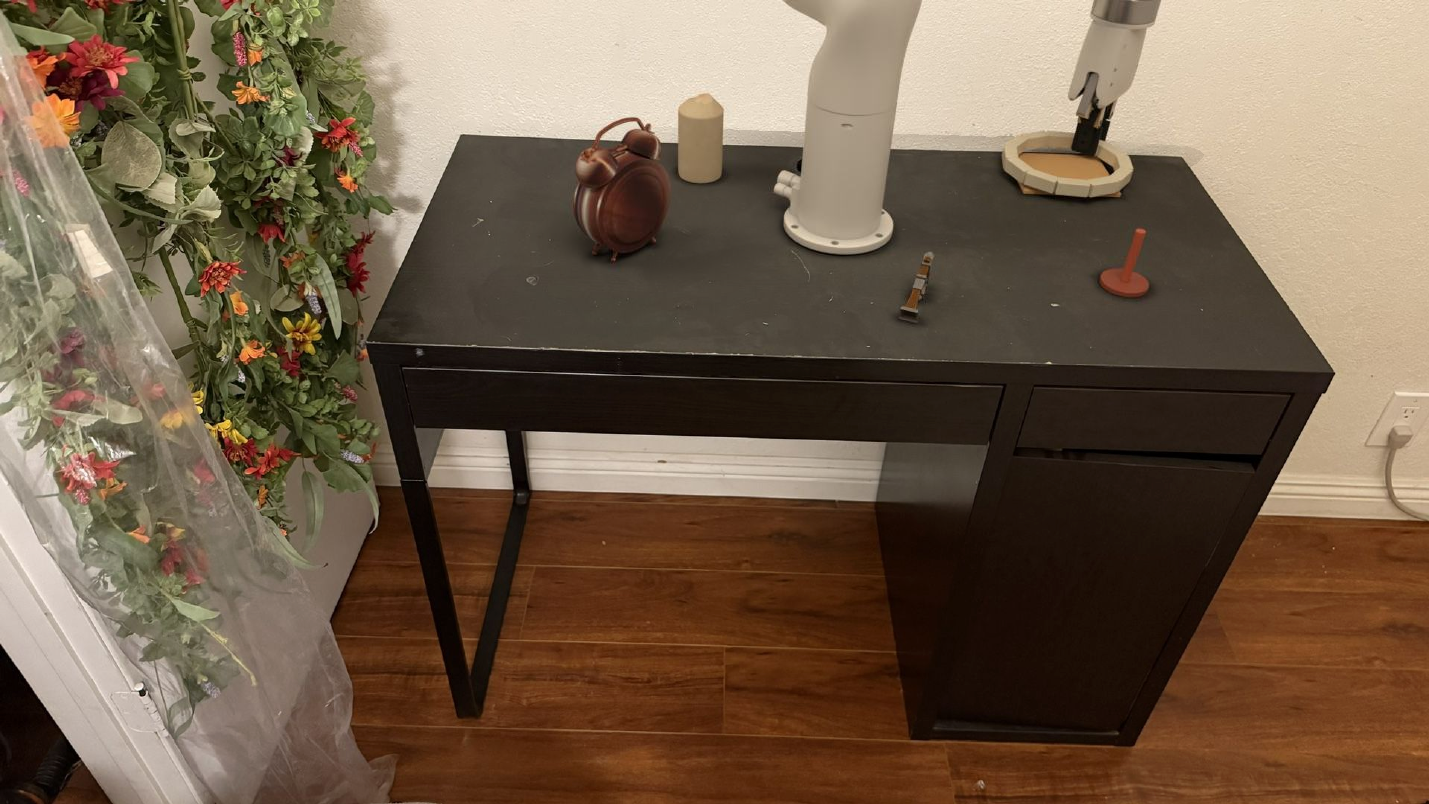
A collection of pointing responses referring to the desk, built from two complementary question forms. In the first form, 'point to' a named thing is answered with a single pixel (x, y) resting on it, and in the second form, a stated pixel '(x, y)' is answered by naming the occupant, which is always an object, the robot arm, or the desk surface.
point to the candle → (700, 139)
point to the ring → (1065, 185)
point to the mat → (1064, 168)
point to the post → (1127, 273)
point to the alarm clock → (622, 190)
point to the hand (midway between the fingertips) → (1086, 149)
